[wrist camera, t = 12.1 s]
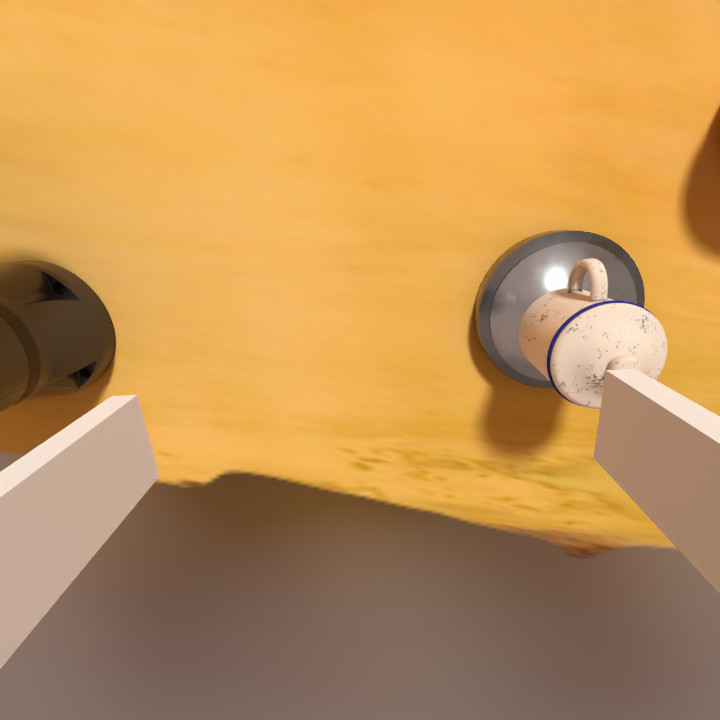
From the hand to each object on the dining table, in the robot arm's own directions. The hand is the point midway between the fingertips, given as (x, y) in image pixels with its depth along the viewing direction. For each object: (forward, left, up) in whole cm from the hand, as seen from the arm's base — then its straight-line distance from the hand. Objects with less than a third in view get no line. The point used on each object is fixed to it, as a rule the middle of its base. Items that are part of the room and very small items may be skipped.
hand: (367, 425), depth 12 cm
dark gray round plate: (+18, -5, -33) cm, 38 cm away
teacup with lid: (+18, -5, -30) cm, 35 cm away
